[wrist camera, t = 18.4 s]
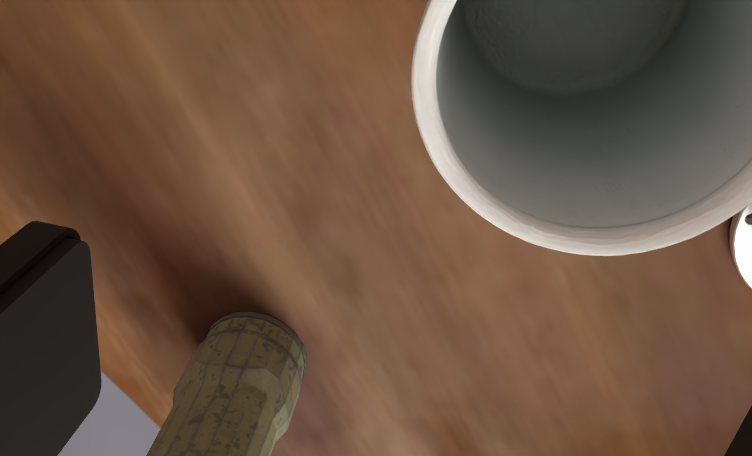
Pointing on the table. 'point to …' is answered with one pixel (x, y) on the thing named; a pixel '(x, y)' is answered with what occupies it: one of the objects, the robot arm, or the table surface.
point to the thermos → (235, 390)
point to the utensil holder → (590, 116)
